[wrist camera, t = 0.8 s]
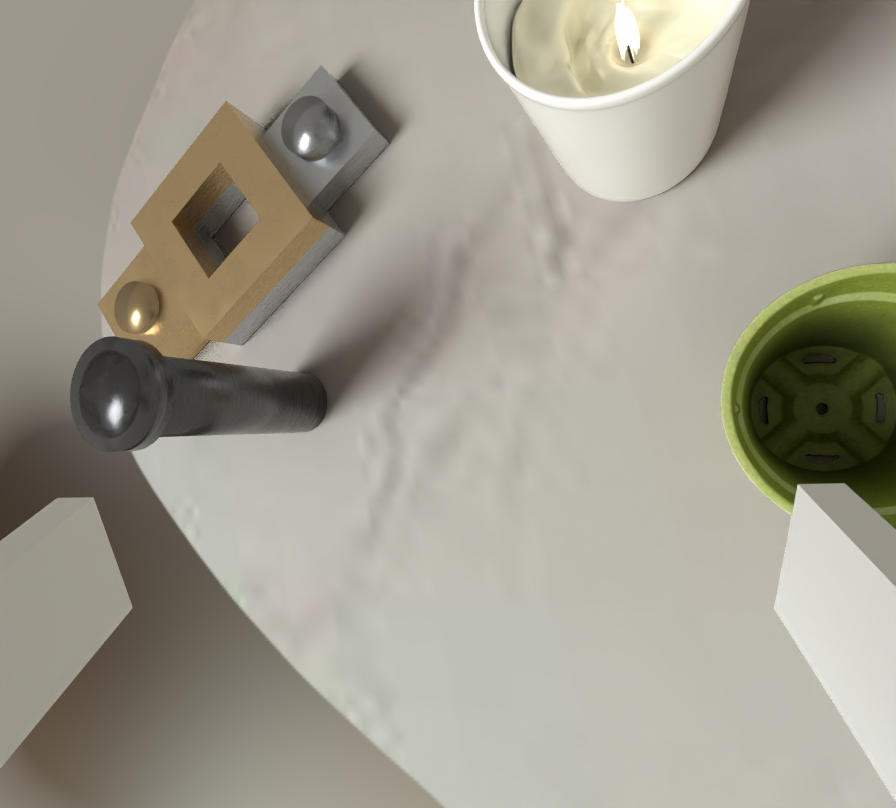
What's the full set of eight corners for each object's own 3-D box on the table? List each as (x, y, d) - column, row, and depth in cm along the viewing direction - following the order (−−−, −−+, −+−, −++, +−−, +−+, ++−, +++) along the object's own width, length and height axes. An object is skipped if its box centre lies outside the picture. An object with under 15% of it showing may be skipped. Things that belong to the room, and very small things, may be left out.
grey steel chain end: (319, 59, 39) (291, 31, 36) (409, 167, 36) (386, 146, 33) (172, 237, 43) (138, 225, 41) (242, 345, 41) (209, 340, 38)
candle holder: (771, 51, 28) (828, -187, 17) (685, 240, 29) (686, 132, 18) (587, 21, 32) (535, -194, 21) (517, 190, 33) (434, 75, 22)
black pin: (307, 348, 38) (116, 312, 25) (348, 408, 37) (168, 402, 24) (259, 397, 40) (55, 386, 27) (296, 456, 38) (101, 475, 26)
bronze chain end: (263, 127, 40) (218, 96, 36) (345, 235, 37) (306, 214, 34) (128, 291, 45) (76, 279, 41) (192, 398, 42) (142, 396, 38)
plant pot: (704, 320, 29) (713, 282, 21) (935, 296, 25) (1051, 240, 17) (716, 504, 29) (728, 537, 21) (951, 507, 25) (1078, 548, 17)
